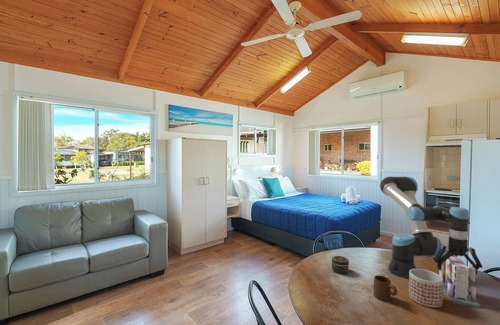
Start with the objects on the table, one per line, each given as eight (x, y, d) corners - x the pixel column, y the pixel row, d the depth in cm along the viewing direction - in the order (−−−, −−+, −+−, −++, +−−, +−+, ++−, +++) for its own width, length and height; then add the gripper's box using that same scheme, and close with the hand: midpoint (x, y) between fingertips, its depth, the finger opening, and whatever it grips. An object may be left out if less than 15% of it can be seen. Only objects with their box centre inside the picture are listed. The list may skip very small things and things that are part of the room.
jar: (351, 272, 150) (352, 259, 150) (342, 276, 144) (342, 263, 144) (338, 265, 158) (338, 254, 158) (328, 269, 153) (328, 257, 152)
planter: (402, 291, 129) (403, 268, 128) (429, 292, 128) (430, 268, 128) (420, 307, 115) (421, 281, 115) (449, 308, 115) (450, 282, 114)
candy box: (444, 284, 134) (445, 255, 134) (457, 286, 132) (459, 256, 131) (453, 297, 122) (454, 265, 121) (468, 300, 119) (469, 267, 119)
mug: (402, 305, 117) (402, 285, 117) (390, 308, 115) (390, 288, 114) (381, 291, 128) (381, 274, 128) (370, 294, 126) (370, 276, 126)
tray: (452, 303, 119) (452, 289, 119) (434, 282, 138) (434, 270, 138) (481, 308, 115) (482, 293, 115) (459, 286, 135) (459, 273, 134)
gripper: (433, 237, 126) (431, 277, 126) (493, 242, 119) (491, 285, 119) (427, 232, 133) (425, 270, 134) (483, 237, 126) (481, 278, 126)
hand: (456, 277), depth 126 cm, fingers open, 13 cm apart
